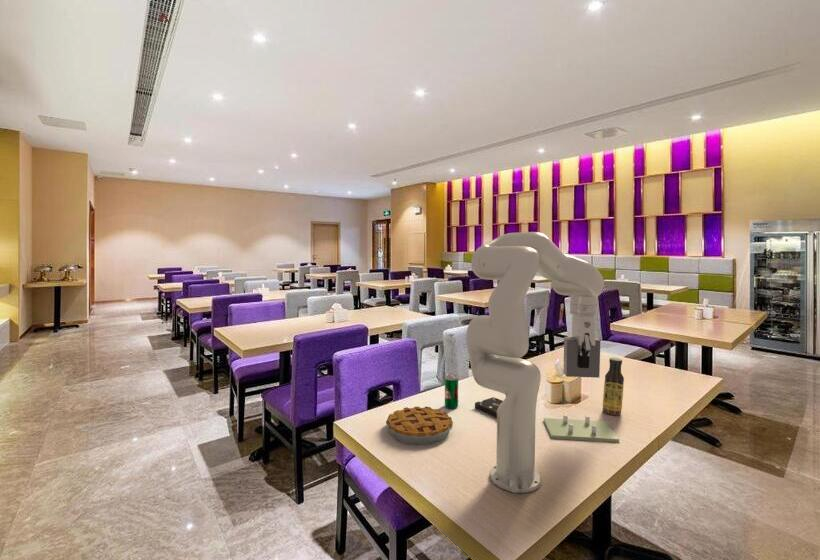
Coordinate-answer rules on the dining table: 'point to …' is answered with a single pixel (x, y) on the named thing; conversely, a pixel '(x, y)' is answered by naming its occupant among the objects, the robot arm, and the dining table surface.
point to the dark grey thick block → (572, 359)
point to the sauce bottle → (613, 388)
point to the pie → (419, 425)
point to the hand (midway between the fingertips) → (581, 364)
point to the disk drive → (489, 406)
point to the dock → (580, 429)
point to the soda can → (451, 391)
